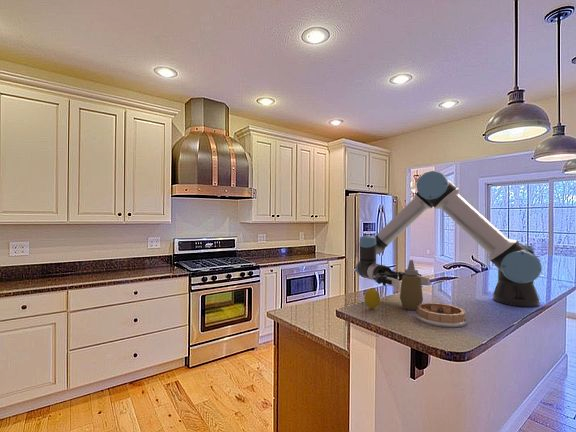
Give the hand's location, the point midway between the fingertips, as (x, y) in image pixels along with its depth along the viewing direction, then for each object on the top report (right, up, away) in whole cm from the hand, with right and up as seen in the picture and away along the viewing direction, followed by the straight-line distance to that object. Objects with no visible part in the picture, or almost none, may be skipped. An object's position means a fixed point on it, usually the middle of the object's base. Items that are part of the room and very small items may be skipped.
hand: (414, 282), depth 114 cm
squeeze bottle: (0, -10, +2) cm, 10 cm away
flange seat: (+4, -10, -12) cm, 16 cm away
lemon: (-16, -10, 0) cm, 18 cm away
